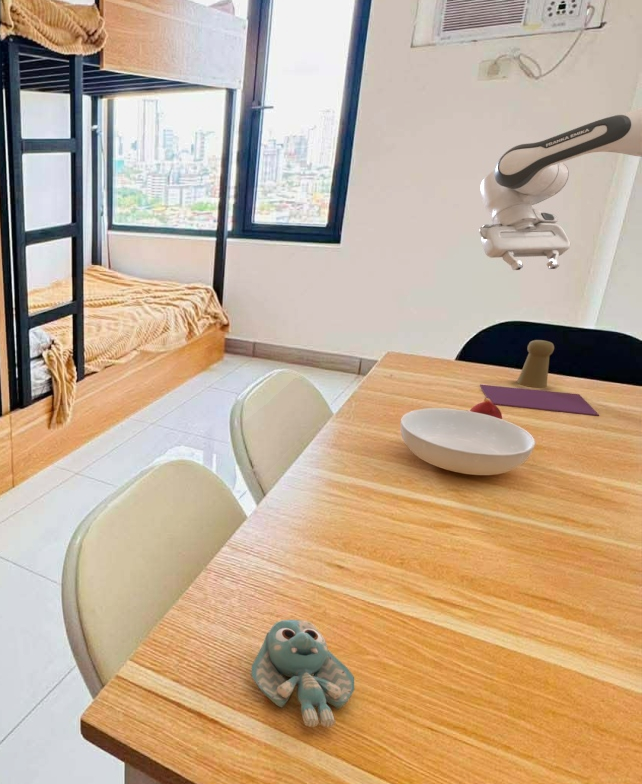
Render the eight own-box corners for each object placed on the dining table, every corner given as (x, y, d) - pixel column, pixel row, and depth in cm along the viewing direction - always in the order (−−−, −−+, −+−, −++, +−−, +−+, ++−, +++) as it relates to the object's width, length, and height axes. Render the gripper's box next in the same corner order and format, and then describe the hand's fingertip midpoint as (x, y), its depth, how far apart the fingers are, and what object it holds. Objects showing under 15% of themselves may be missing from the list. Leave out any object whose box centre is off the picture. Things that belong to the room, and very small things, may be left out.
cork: (521, 378, 160) (531, 336, 157) (549, 383, 156) (561, 341, 152) (513, 383, 157) (523, 340, 153) (542, 389, 152) (553, 345, 149)
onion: (496, 432, 129) (505, 396, 126) (498, 443, 124) (507, 405, 121) (463, 427, 132) (471, 391, 129) (464, 437, 127) (472, 400, 124)
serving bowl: (370, 453, 121) (376, 420, 118) (438, 432, 130) (445, 401, 127) (481, 500, 103) (490, 463, 101) (551, 472, 112) (561, 437, 110)
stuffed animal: (271, 698, 59) (244, 597, 69) (260, 741, 63) (236, 640, 73) (387, 701, 59) (342, 599, 69) (370, 744, 62) (330, 641, 73)
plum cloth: (578, 395, 148) (579, 394, 148) (598, 415, 136) (599, 414, 136) (479, 385, 156) (479, 384, 156) (490, 404, 144) (490, 402, 144)
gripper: (485, 216, 158) (505, 261, 152) (562, 215, 159) (585, 259, 153) (469, 233, 164) (488, 276, 158) (544, 231, 165) (565, 274, 159)
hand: (536, 268), depth 155 cm, fingers open, 8 cm apart
